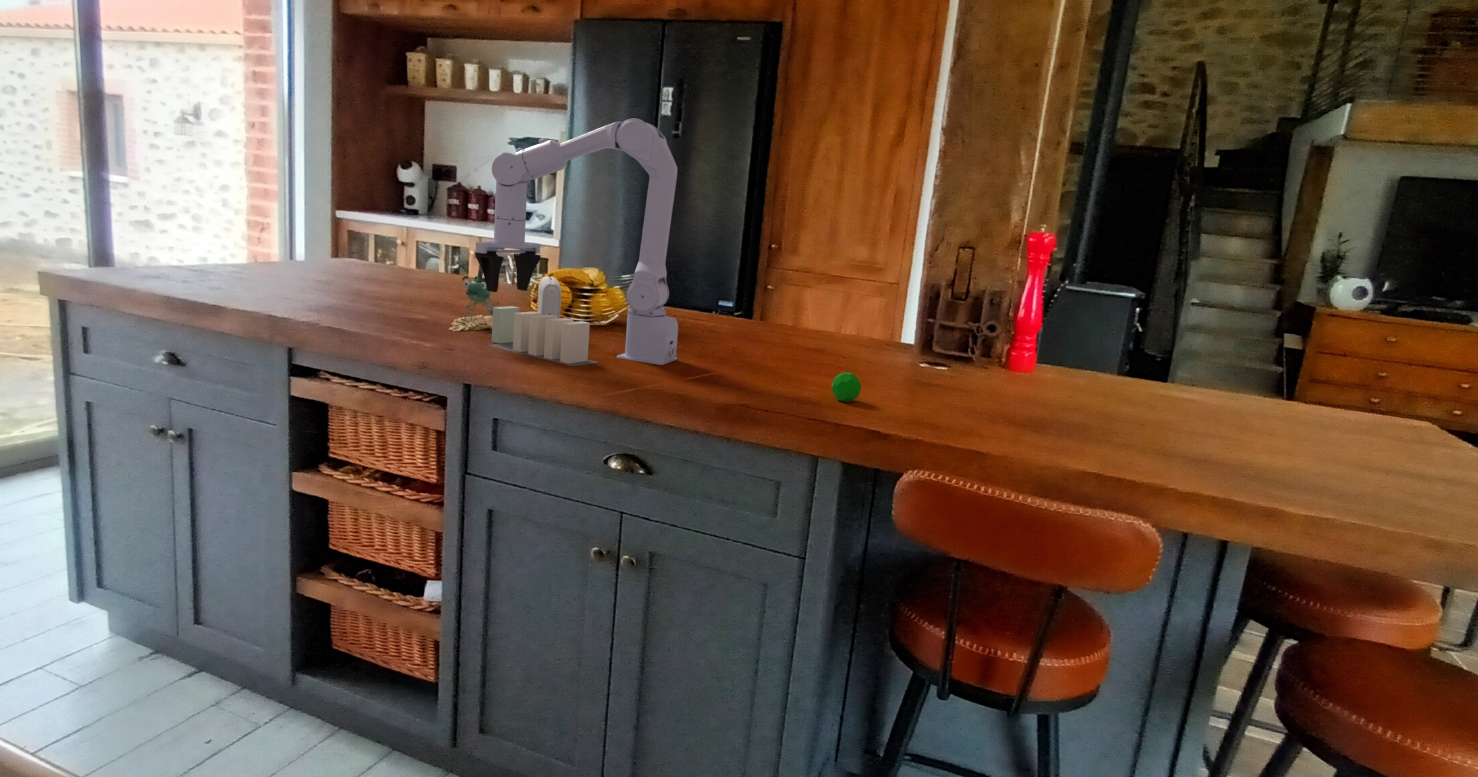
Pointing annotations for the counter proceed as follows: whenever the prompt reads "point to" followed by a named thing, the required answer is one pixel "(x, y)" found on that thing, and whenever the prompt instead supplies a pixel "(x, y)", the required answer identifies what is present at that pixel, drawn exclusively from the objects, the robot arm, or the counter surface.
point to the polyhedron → (846, 387)
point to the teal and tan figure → (478, 295)
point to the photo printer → (549, 297)
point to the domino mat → (510, 348)
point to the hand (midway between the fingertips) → (507, 290)
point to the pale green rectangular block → (503, 324)
